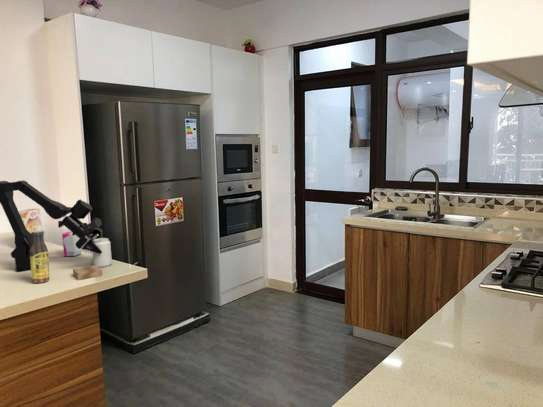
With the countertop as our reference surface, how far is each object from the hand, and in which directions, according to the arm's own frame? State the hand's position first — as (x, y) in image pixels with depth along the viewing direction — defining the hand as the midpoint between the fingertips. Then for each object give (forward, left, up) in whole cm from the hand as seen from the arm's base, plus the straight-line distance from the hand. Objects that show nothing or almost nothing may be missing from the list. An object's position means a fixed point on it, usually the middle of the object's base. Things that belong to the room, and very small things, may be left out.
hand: (104, 250), depth 184 cm
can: (-1, +1, -7) cm, 7 cm away
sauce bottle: (-26, -6, -7) cm, 28 cm away
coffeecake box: (-20, +73, -7) cm, 76 cm away
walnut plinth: (-10, -10, -7) cm, 16 cm away
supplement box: (-7, +31, -7) cm, 32 cm away
